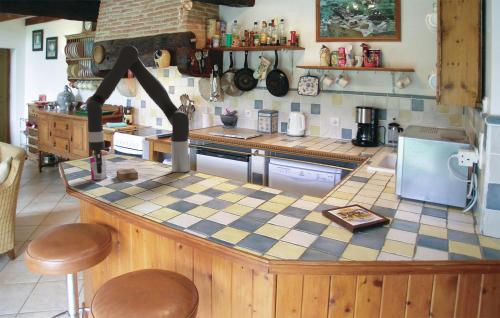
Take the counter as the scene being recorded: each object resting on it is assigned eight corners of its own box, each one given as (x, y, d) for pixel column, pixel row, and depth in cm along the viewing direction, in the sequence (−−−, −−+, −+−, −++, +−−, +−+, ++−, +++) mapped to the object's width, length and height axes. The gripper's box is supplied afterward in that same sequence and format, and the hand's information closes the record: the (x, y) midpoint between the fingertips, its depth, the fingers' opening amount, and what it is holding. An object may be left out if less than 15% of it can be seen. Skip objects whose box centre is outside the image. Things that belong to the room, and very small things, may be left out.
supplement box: (107, 177, 213) (105, 156, 210) (102, 180, 207) (100, 158, 205) (96, 177, 214) (94, 156, 211) (91, 180, 208) (89, 158, 205)
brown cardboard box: (134, 175, 219) (133, 168, 218) (138, 179, 211) (137, 172, 210) (116, 177, 215) (116, 170, 214) (120, 181, 207) (119, 174, 206)
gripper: (105, 142, 201) (108, 173, 205) (102, 137, 214) (104, 167, 217) (89, 143, 198) (92, 175, 202) (87, 138, 211) (89, 168, 214)
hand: (98, 171), depth 210 cm, fingers open, 8 cm apart
